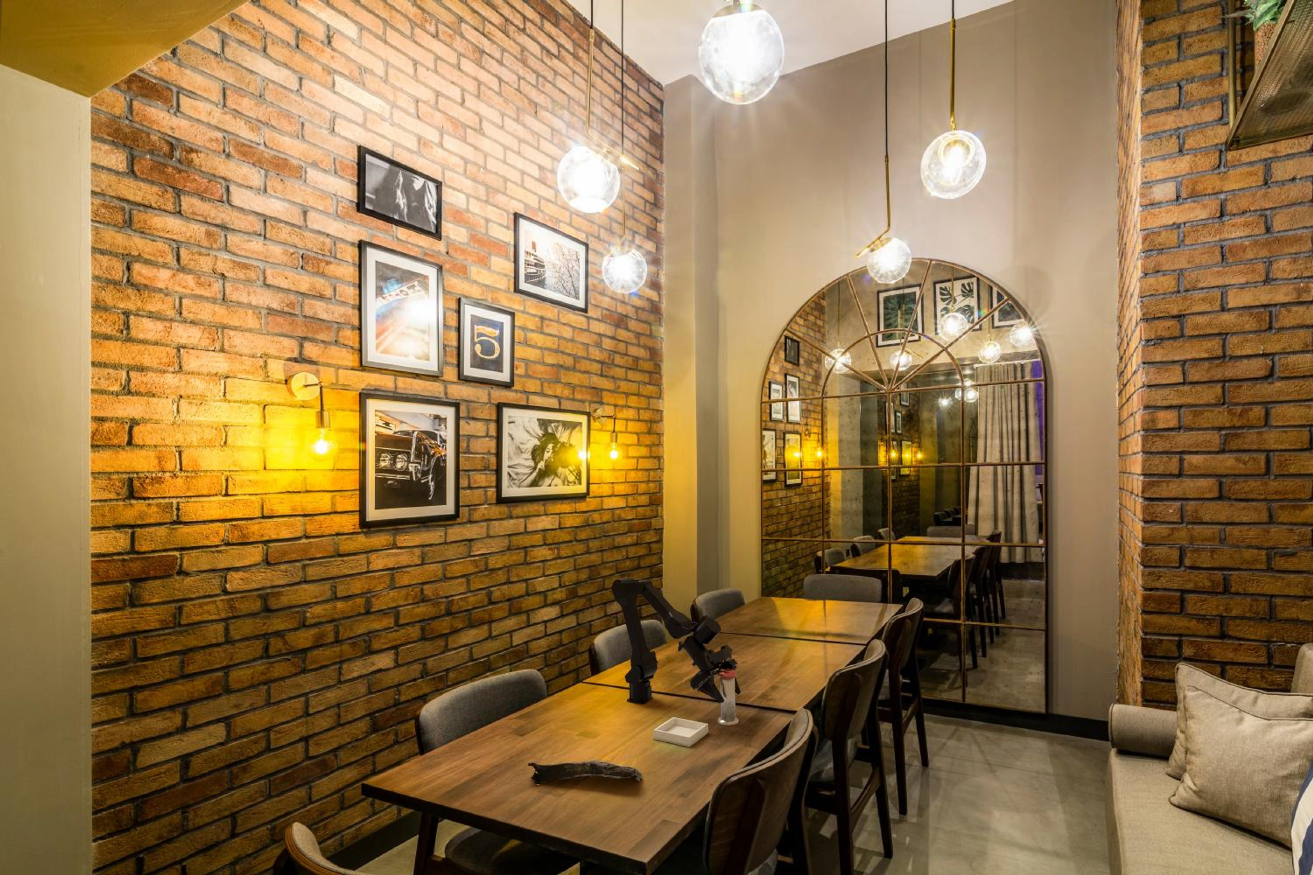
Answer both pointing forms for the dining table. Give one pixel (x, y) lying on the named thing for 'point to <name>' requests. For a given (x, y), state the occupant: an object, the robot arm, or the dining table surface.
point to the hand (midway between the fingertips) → (731, 697)
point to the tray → (680, 731)
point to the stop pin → (727, 697)
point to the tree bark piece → (581, 771)
